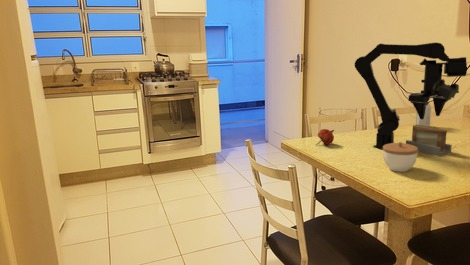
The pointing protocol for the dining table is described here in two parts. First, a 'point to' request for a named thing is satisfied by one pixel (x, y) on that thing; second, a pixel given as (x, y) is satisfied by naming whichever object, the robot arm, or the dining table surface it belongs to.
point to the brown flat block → (429, 136)
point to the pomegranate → (326, 136)
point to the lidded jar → (400, 156)
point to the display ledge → (430, 148)
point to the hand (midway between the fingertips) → (429, 117)
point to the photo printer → (426, 117)
